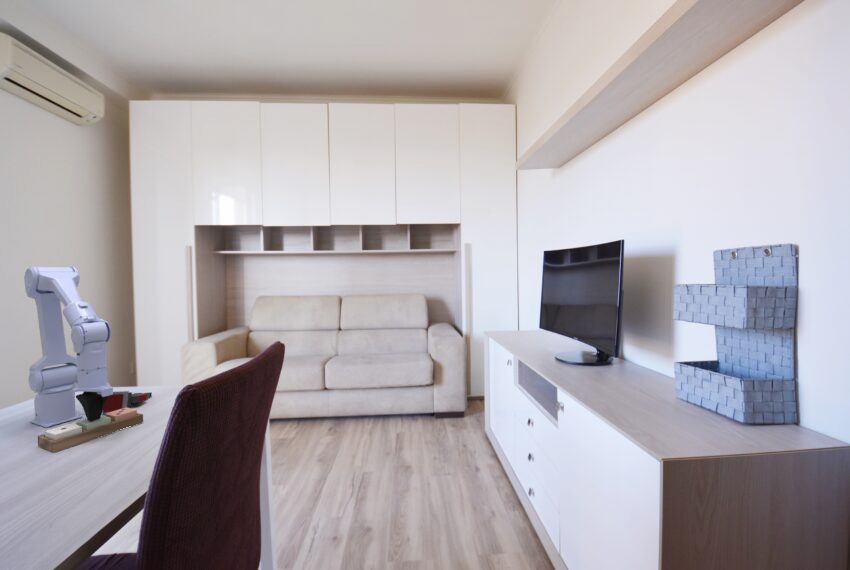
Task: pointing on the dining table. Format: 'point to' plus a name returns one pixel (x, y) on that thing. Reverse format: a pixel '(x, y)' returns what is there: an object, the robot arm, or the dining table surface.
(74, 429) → the cream tile
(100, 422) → the sage tile
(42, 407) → the robot arm
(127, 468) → the dining table surface
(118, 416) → the terracotta tile
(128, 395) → the toy
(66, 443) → the board
